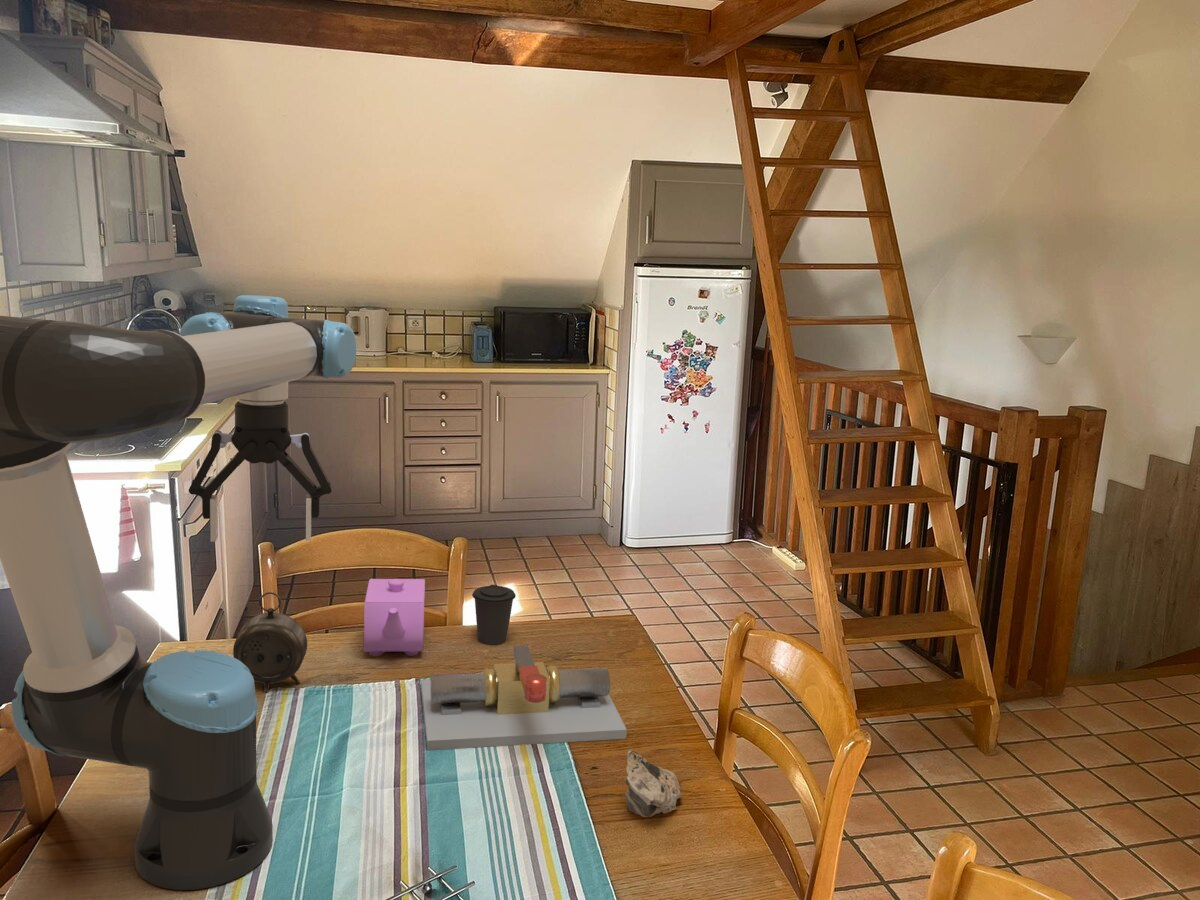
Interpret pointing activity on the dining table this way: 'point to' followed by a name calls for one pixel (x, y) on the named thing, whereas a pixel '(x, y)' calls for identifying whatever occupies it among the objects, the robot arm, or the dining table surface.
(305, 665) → the dining table surface
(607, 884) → the dining table surface
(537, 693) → the lever
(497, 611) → the coffee cup
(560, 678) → the valve body
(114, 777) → the dining table surface
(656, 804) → the rock
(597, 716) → the mount board
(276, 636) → the alarm clock
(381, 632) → the pink toy block
